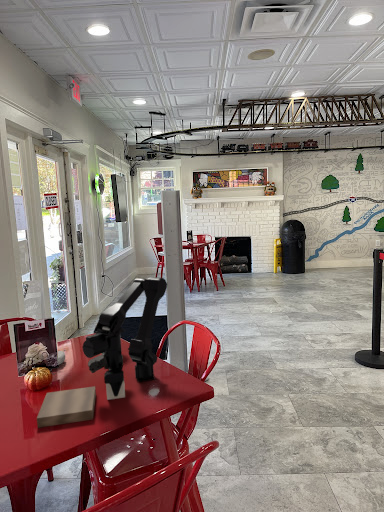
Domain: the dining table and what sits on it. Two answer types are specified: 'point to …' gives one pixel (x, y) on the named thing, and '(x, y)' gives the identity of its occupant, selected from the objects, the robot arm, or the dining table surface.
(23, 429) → the dining table surface
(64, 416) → the walnut base
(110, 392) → the cream cube
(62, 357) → the robot toy
